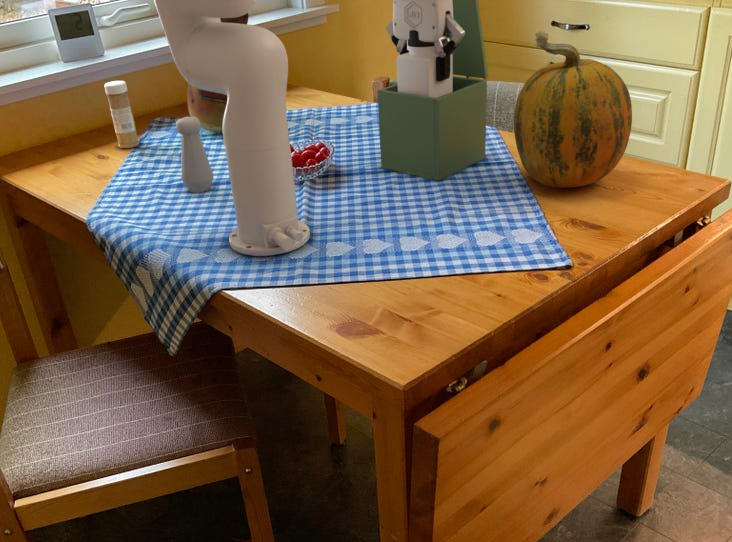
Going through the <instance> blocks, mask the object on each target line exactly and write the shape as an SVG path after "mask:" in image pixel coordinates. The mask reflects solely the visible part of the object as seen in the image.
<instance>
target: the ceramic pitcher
mask: <svg viewBox="0 0 732 542" xmlns="http://www.w3.org/2000/svg"><path fill="white" fill-rule="evenodd" d="M220 20H221V22H224V23H238V24H248V22H249V12H248V13H247V14H245V15H243V16H240V17H235V18H220ZM186 99H187V100H186V101H187V102H186V103H187V109H188V110H187V111H188V114H189V117H196V118H198V119H199V121H200V124H201V128H203V129H205V130H208V131H211V132H216V133H223V128H222V126H223V117H224V113H225V109H226V105H227V95H225V94H221V93H216V92H210V91H206V90H202V89H198V88H196V87H194V86H192V85H191V84H189V83H188V85H187V98H186Z"/></svg>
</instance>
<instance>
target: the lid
mask: <svg viewBox="0 0 732 542" xmlns="http://www.w3.org/2000/svg"><path fill="white" fill-rule="evenodd" d="M452 2H453V19H454V20H455V21H456V22H457V23H458V24H459V26H460V27H461V28H462V29H463V30H464V31H465V35H464V37H463V38H462V40H461V41H460V42H459V45H458V46H457V48H456V49H455V50H454V52H453V76H460V77H468V78H476V79H484V80H486V79H487V78H489V71H488V64H487V58H486V57H487V56H486V49H485V42H484V34H483V28H482V20H481V11H480V4H479V0H452ZM451 38H452V35H451V36H450V37H449V40H451ZM442 44H443V43H442ZM443 47H444V45H443Z"/></svg>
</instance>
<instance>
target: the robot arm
mask: <svg viewBox="0 0 732 542" xmlns="http://www.w3.org/2000/svg"><path fill="white" fill-rule="evenodd" d="M153 2H154V5H155V8H156V11H157V14H158V17H159V20H160V23H161V26H162V29H163V32H164V34H165V35H164V36H165V38H166V41H167V44H168V47H169V50H170V52H171V55H172V58H173V60H174V63H175V66H176V68H177V70H178V72H179V73H180V75H181V76H182V78H183V79H184V80H185V82H187V84H188V85H189V84H191V85H192V86H194V87H196V88H198V89H202V90H206V91H210V92H216V93H221V94H225V95H227V105H226V109H225V113H224V117H223V126H222V128H223V132H222V139H223V144H224V149H225V156H226V157H225V158H226V162H227V169H228V175H229V182H230V189H231V194H232V201H233V206H234V212H235V213H234V214H235V219H236V226H237V228H235V229H234V230H233V231H232V232H230V235H229V237H228V238H229V239H228V241H229V245H230V248H232V250H233V251H235V252H237V253H238V254H242V255H246V256H254V257H268V256H276V255H282V254H286V253H290V252H293V251H294V250H297V249H299V248H301V247H302V246H304V245H306V243H307V242H308V241H309V240H310V237H311V231H310V227H309V226H308V224H306V223H305V222H304V221H302V220H300V219H299V213H298V212H299V211H298V204H297V203H298V202H297V193H296V185H295V177H294V167H293V157H292V149H291V140H290V134H289V124H288V112H287V110H288V109H287V90H288V89H287V88H288V79H289V77H288V76H289V58H288V53H287V50H286V47H285V45H284V43H283V42H282V40H281V39H280V38H279V37H278V35H276V34H275V33H274V32H272V31H271V30H269V29H267V28H264V27H262V26H259V25H256V24H255V25H254V24H248V23H247V24H238V23H224V22H221V20H220V18H235V17H240V16H243V15H245V14H247V13H248V14H249V13H250V11H251V10H253V8H254V7H255V5H256V3H257V0H153ZM392 8H393V9H392V19H391V20H390V22H389V23H388V24H386V26H385V30H386V32H387V34H388V36H389V37H390V38H391V39H390V40H391V42H392V43H393V45H394V46H395V48H396V52H397V53H398V54H399V55H402V54H405V53H408V52H409V50H407V40H408V39H409V31H411V30H416V31H418V33H419V40H421V41H423V42H434V45H435V47H436V50H437V52H438V54H439V57H436V80H437V81H443V80H445V79H448V78H449V77H450V55H451V54H453V52H454V50H455V49H456V48H457V46H458V45H459V42H460V41H461V40H462V38H463V37H464V35H465V31H464V30H463V29H462V28H461V27H460V26H459V24H458V23H457V22H456V21H455V20H454V19H453V2H452V0H393V2H392ZM451 35H452V38H451V40H449V37H450V36H451ZM442 43H443V44H442ZM443 45H444V47H443Z"/></svg>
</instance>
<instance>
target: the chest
mask: <svg viewBox="0 0 732 542" xmlns="http://www.w3.org/2000/svg"><path fill="white" fill-rule="evenodd" d="M487 87H488V80H486V79H480V78H473V77H465V76H457V75H453V92H452V93H449V94H447V95H444V96H442V97H439V98H434V97H427V96H420V95H413V94H407V93H400V92H398V82H397V83H394V84H392V85H390V86H386V87H384V88H381V89H378V90H377V91H376V92H377V107H378V109H377V110H378V128H379V129H378V131H379V149H380V150H379V151H380V168H381V169H384V170H389V171H393V172H398V173H403V174H407V175H411V176H416V177H421V178H424V179H429V180H434V181H438V182H440V181H442V180H444V179H446V178H448V177H450V176H452V175H455V174H456V173H457V172H461V171H462V170H464V169H466V168H468V167H470V166H472V165H474V164H476V163H478V162H480V161H482V160H484V159H486V148H487V147H486V146H487V145H486V143H487V142H486V141H487V138H486V137H487V95H488V94H487V93H488V92H487V91H488V88H487Z"/></svg>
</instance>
